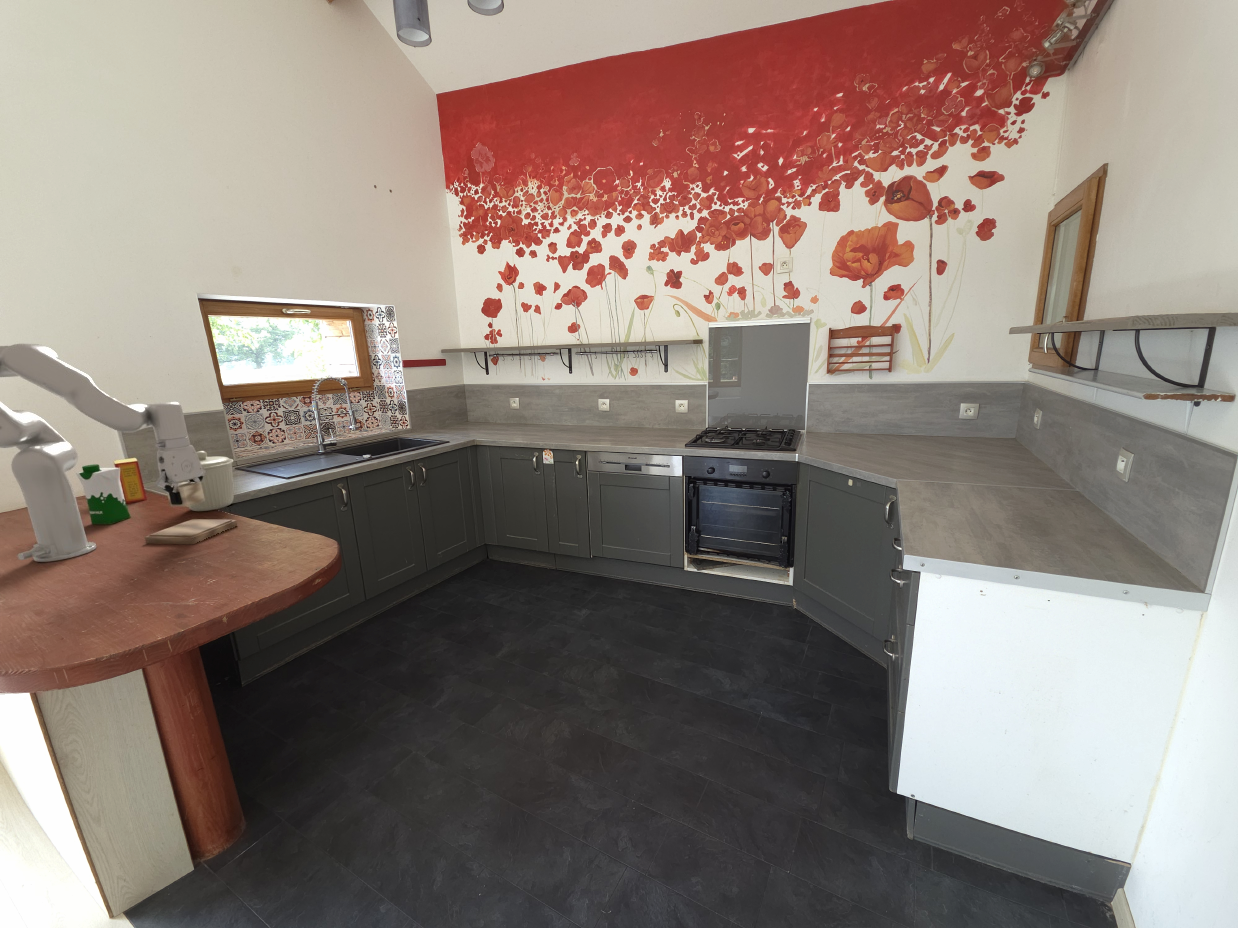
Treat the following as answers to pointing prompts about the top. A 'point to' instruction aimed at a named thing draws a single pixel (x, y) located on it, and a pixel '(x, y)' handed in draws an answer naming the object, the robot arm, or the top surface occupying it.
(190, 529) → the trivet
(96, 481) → the milk carton
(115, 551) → the top surface
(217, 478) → the canister
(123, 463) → the baking soda box
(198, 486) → the cube
